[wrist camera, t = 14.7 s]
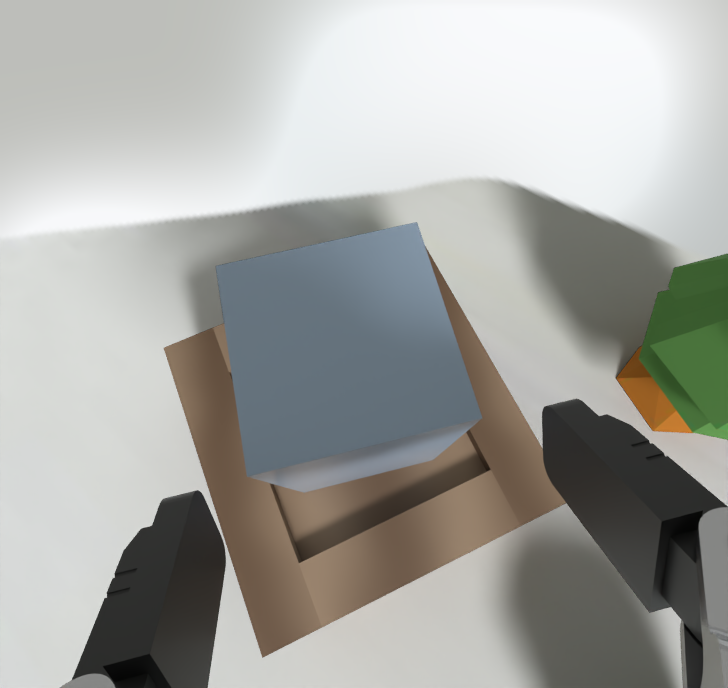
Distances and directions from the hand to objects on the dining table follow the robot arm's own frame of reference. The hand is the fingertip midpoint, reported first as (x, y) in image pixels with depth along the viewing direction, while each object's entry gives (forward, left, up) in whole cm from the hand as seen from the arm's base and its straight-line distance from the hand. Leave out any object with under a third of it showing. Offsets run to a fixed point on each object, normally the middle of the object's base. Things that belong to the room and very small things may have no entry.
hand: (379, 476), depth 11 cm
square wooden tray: (-1, -3, -17) cm, 17 cm away
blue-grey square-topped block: (-1, -4, -11) cm, 11 cm away
